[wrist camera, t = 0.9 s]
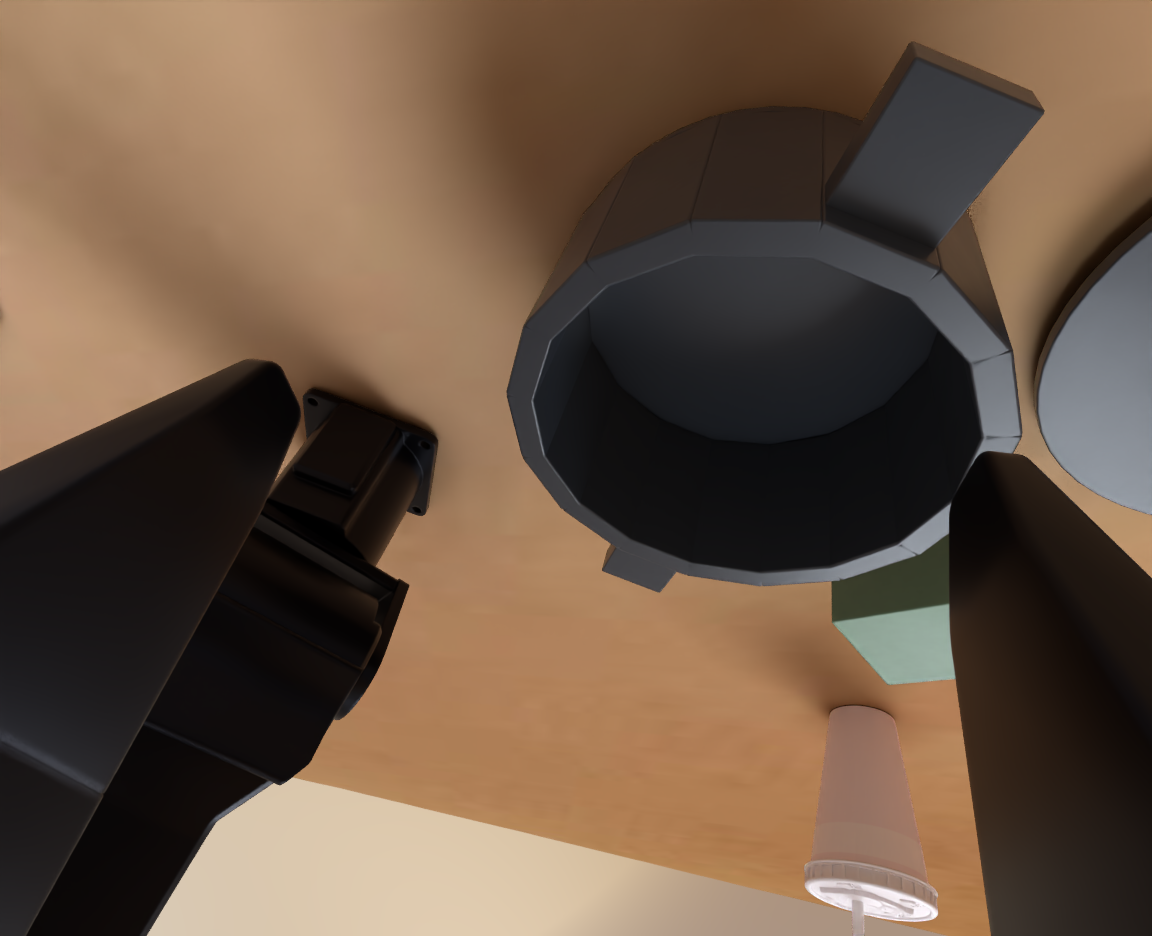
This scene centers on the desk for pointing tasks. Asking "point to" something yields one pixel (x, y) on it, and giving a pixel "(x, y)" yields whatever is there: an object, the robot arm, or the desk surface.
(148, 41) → the desk surface
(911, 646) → the block
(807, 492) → the pot
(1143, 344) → the lid
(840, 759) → the smoothie
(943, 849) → the desk surface
